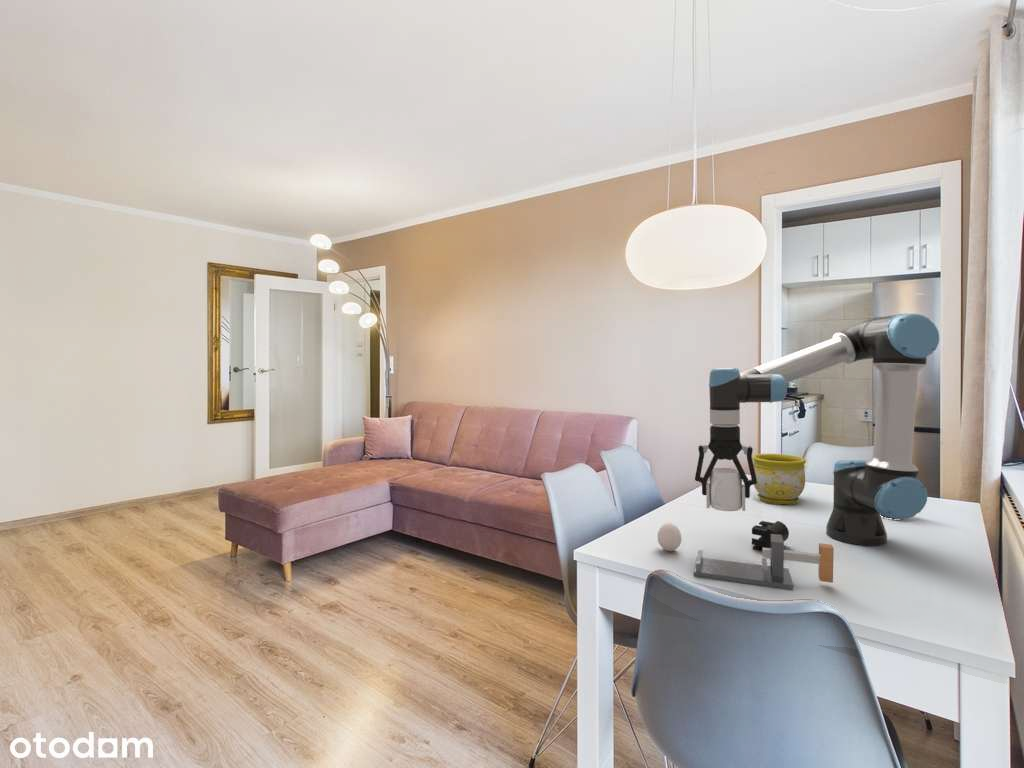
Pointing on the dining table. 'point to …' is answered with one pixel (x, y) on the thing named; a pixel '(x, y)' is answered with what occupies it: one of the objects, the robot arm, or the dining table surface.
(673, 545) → the egg
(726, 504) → the mug
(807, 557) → the lever
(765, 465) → the flowerpot
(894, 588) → the dining table surface
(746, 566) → the dock
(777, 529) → the end cap
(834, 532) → the robot arm
